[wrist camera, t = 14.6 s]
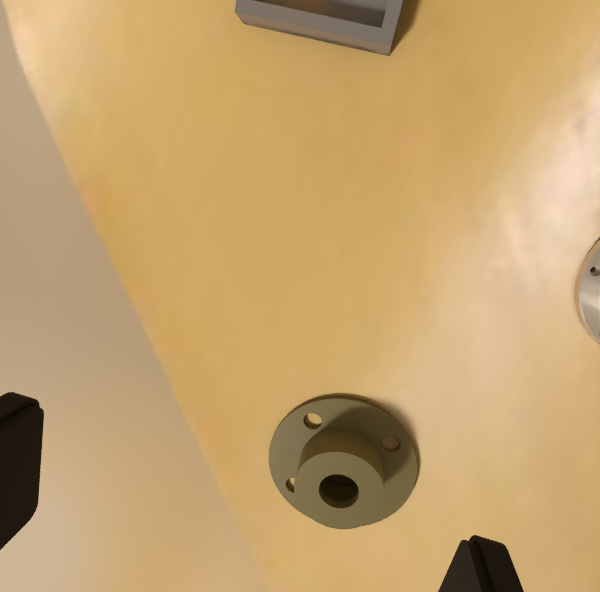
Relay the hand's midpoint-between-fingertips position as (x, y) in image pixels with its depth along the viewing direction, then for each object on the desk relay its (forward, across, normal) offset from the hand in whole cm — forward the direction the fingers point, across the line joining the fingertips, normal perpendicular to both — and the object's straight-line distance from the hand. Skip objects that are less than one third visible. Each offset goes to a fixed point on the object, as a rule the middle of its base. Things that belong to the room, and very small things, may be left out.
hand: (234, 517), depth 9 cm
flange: (+31, -6, +20) cm, 37 cm away
